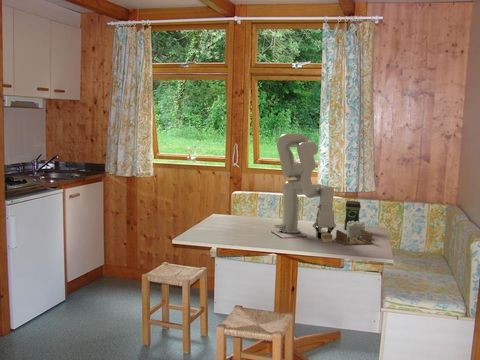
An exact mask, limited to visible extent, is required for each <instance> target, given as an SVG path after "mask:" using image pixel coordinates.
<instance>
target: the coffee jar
mask: <svg viewBox="0 0 480 360" xmlns="http://www.w3.org/2000/svg"><path fill="white" fill-rule="evenodd" d="M344 209H345V218H344V222H343V223H344V224H343V229H344V230H347V223H348V222H349V221H355V222H356V221H359V222H360V211H361V202H360V201H355V200H347V201H346V202H345V206H344Z"/></svg>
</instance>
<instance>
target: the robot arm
mask: <svg viewBox="0 0 480 360" xmlns="http://www.w3.org/2000/svg"><path fill="white" fill-rule="evenodd" d="M276 148H277V153H278V157H279V162H280V168H281V173H282V176H283V177H284V178H286V179H290V180H287V181H285V182H284V183H283V185H282V196H283V204H282V206H283V207H282V220H281V222H280V223H279V224H274V229H279V231H280V232H281V231H282V233H285V232H287V233H286V234H297V233H298V234H299V233H300V231H301V229H300V228H298V224H299V213H300V212H299V209H300V208H299V207H300V201H299V198H298V196H300V195H304V196H305V197H306V198H309V199H312V198H313V199H314V198H319V204H318V205H317V206H316V207H317V209H318V210H317V213H316V217H315V221H314V223H313V224H312V228H314V229H315V231H316V230H317V237H318V238H317V240H320V239H321V230H322V229H326V228H327V230H326V232H328V233H329V234H331V235H332V232H333V231H334V229H335V228H337V223H335V210H334V209H333V205H334V204H333V203H334V187H333V186H330V185H329V186H328V185H324V184H320V183H317V184H313V182H312V173H313V171H314V170H315V169H316V167H317V164H316V160H315V156H316V155H317V154H318V151H319V147H318V145H317V143H316V142H315V141H314V140H311V139H310V138H308V137H307V136H306V135H304V134H303V133H296V132H295V133H293V132H290V133H289V132H287V133H284V134H281V135H280V136H279V137H278V138H277V143H276ZM291 148H296V152H297V155H298V158H299V161H295V157H294V154H293V152H292V150H291Z"/></svg>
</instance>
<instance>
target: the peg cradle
mask: <svg viewBox="0 0 480 360" xmlns="http://www.w3.org/2000/svg"><path fill="white" fill-rule="evenodd" d="M335 234H336V235H335V238H334V241H335V242H337V243H340V244H341V245H344V246H357V245H359V246H360V245H361V246H362V245H374V244H373V241H372V239H373V233H372V232H370V231H367V230H366V229H365V230H361V234H360V235H357V238H351V237H348V236H347V234H346V233H345V232H343V231H341V230H339V229H337V230H336V233H335Z"/></svg>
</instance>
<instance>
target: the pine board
mask: <svg viewBox="0 0 480 360" xmlns="http://www.w3.org/2000/svg"><path fill="white" fill-rule="evenodd" d="M315 238H316V239H318V237H317V230H316V229H315ZM319 240H320V241H321V242H323V243H332V242H333V234H332V233H331V234H329V233H328V232H327V230H324V229H323V230H322V229H321V239H319Z"/></svg>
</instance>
